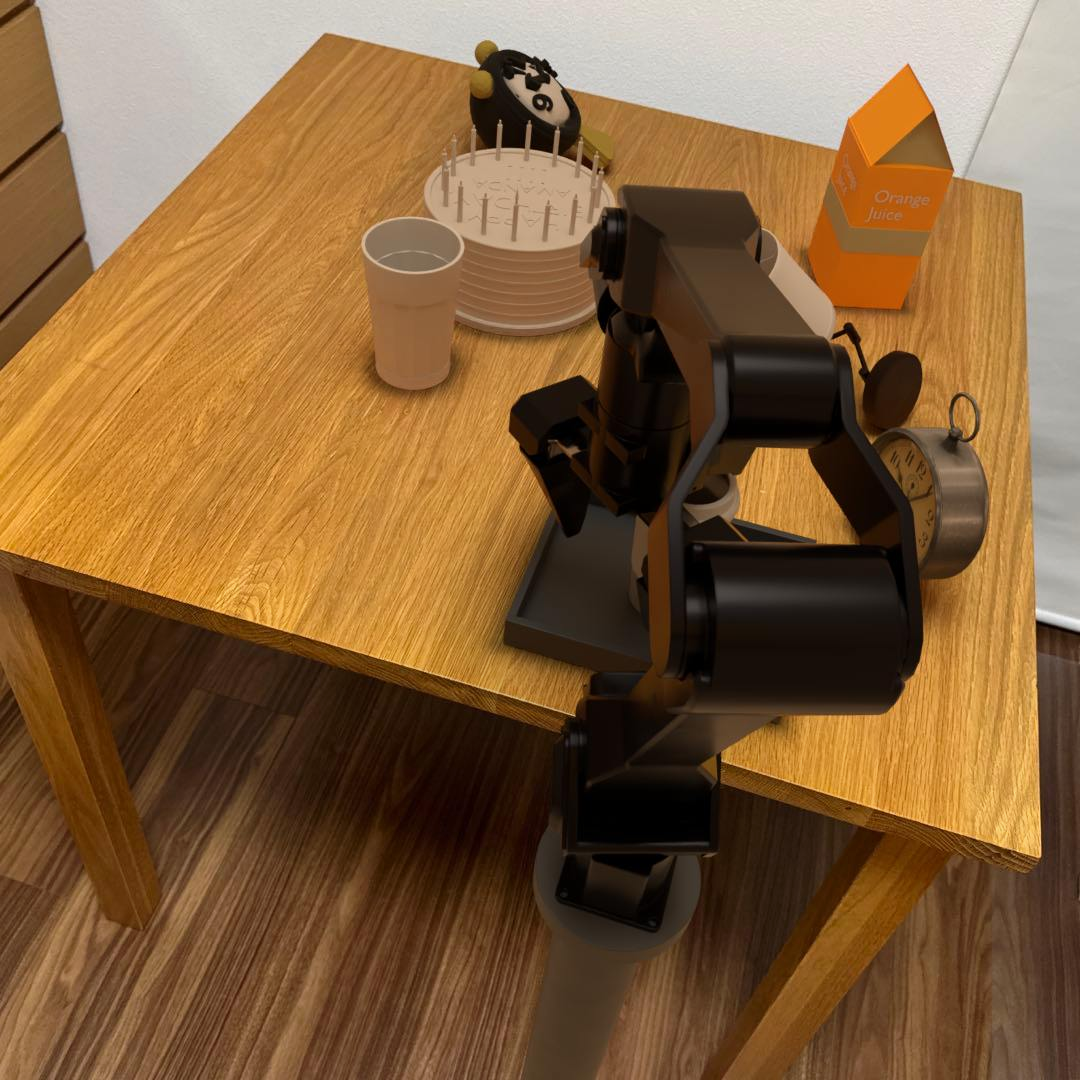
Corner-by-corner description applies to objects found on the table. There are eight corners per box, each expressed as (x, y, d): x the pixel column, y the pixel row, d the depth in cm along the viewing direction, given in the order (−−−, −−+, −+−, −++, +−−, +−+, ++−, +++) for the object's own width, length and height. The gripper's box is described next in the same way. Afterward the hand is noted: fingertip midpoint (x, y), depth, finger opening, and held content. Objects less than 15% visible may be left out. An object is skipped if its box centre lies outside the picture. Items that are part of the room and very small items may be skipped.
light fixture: (799, 326, 108) (721, 208, 96) (942, 364, 97) (875, 237, 85) (742, 411, 107) (656, 303, 95) (880, 460, 96) (803, 344, 84)
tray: (778, 724, 74) (788, 702, 72) (502, 643, 77) (505, 619, 75) (808, 563, 84) (817, 539, 83) (563, 496, 87) (566, 472, 85)
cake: (611, 236, 113) (629, 109, 103) (605, 346, 100) (626, 213, 91) (432, 216, 112) (434, 87, 103) (404, 323, 100) (404, 188, 90)
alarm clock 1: (558, 228, 120) (520, 122, 107) (470, 172, 127) (423, 67, 114) (633, 155, 121) (604, 42, 108) (542, 104, 128) (504, -8, 115)
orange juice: (823, 305, 108) (888, 105, 93) (805, 253, 113) (864, 57, 99) (902, 310, 108) (980, 111, 94) (880, 257, 114) (950, 63, 100)
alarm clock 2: (836, 514, 88) (902, 348, 76) (900, 509, 89) (975, 345, 77) (890, 623, 81) (973, 459, 69) (958, 616, 82) (1051, 453, 70)
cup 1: (353, 347, 97) (347, 225, 88) (439, 329, 100) (441, 209, 91) (384, 405, 93) (381, 281, 84) (474, 384, 95) (480, 263, 86)
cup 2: (598, 570, 81) (621, 448, 73) (680, 550, 83) (712, 429, 75) (639, 645, 77) (668, 525, 68) (725, 623, 79) (764, 503, 70)
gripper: (867, 452, 61) (795, 630, 73) (661, 274, 71) (626, 454, 83) (708, 523, 57) (658, 701, 68) (512, 321, 67) (497, 506, 78)
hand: (610, 579), depth 74 cm, fingers open, 9 cm apart
